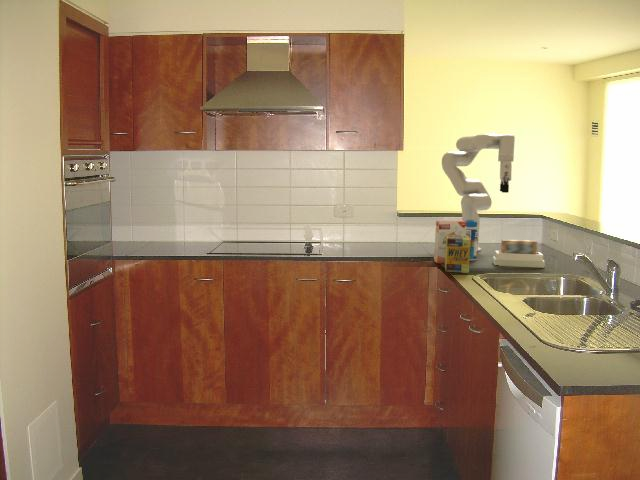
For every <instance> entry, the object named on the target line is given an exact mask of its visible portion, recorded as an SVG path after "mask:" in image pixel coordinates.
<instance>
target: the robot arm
mask: <svg viewBox="0 0 640 480" xmlns="http://www.w3.org/2000/svg"><path fill="white" fill-rule="evenodd" d="M455 146H456V149H457V150H458V151H449V152H446V153H444V154H443V155H442V158H441V168H442V170H443V172H444V174H445V175H446V176H447V177H448V179H449V181H450V183H451V185H452V186H453V188H454V190H455V191H456V193H457V195H459V196H461V197H462V198H461V200H460V206H461V221H464V220H475V221H477V227H476V230H477V232H478V236H477V237H478V245H479V240H480V239H479V238H480V215H479V212H480V211H483V212H484V211H487V210H489V209H490V208H491V207H492V197H491V195H490V194H489V193H488V190H487V189H486V188H485V185H484V184H483V182H481V181H480V180H479V179H473V178H472V179H469V178H467V176H466V175H465V173H464V172H463V170H462V169H460V168H459V167H468V166H469V165H471V164H472V162H474V160H475V158H476V157H477V155H478V154H479V153H480V151H481V150H485V149H487V150H488V149H493V150H498V157H497V159H498V160H497V161H498V162H500V163H499V180H500V184H499V185H500V186H499V191H500V192H501V193H504V194H505V193H507V194H508V193H509V190H510V189H509V188H510V187H509V186H510V185H509V184H510V183H509V182H510V181H512V162H514V157H515V156H514V155H515V153H514V152H515V135H514V134H511V133H508V134H506V133H505V134H504V133H503V134H499V133H498V134H497V133H485V134H476V135H468V136H463V137H459V138H458V139H457V140H456V143H455ZM481 251H482V248H481V247H479V246H478V247H477V252H481Z"/></svg>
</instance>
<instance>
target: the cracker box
mask: <svg viewBox="0 0 640 480" xmlns="http://www.w3.org/2000/svg"><path fill="white" fill-rule="evenodd" d="M466 223H467V222H465V221H462V220H435V233H434V236H435V237H434V254H433V255H434V256H433V257H434V259H433V262H434V263H436V264H445V251H446V235H465V236H466Z"/></svg>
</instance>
